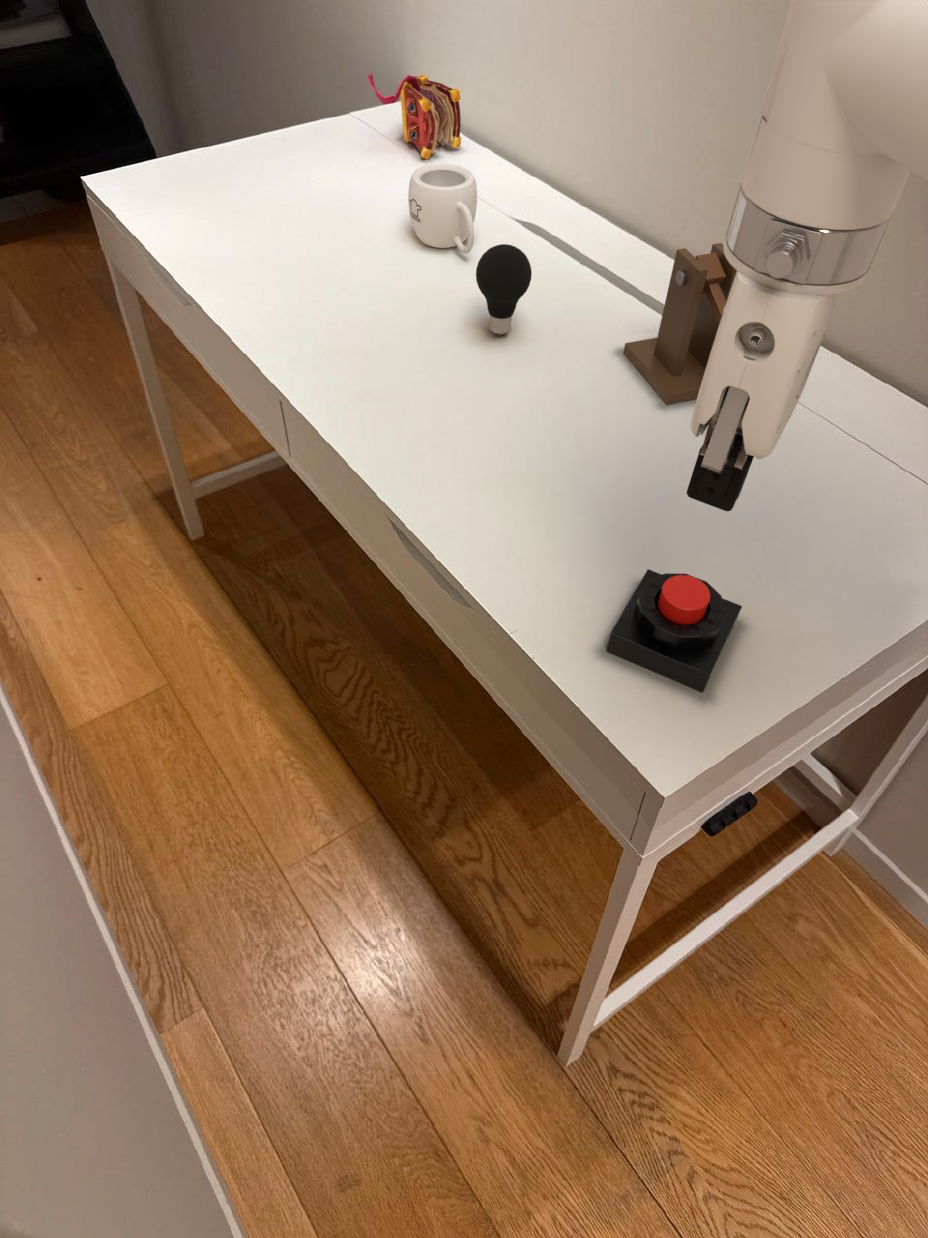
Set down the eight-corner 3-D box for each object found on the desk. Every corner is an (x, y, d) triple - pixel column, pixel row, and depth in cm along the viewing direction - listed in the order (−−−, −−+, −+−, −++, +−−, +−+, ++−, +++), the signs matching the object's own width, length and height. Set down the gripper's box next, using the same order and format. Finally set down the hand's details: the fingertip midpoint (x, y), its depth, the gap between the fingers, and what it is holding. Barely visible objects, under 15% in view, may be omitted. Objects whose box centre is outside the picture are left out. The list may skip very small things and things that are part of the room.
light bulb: (464, 326, 99) (467, 239, 92) (510, 315, 101) (517, 229, 93) (487, 353, 96) (492, 265, 88) (534, 342, 98) (544, 255, 90)
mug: (397, 230, 114) (396, 167, 108) (455, 218, 116) (457, 155, 110) (440, 273, 107) (441, 207, 101) (501, 258, 110) (505, 194, 104)
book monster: (465, 151, 130) (391, 169, 127) (438, 130, 135) (366, 147, 132) (463, 70, 122) (384, 87, 118) (434, 51, 127) (358, 67, 124)
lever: (770, 388, 85) (782, 374, 83) (725, 397, 84) (736, 384, 82) (717, 266, 89) (728, 250, 86) (673, 273, 87) (683, 257, 85)
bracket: (742, 389, 93) (778, 274, 83) (666, 404, 91) (695, 288, 81) (695, 339, 99) (724, 226, 89) (623, 352, 97) (645, 238, 87)
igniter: (734, 623, 72) (748, 590, 69) (703, 693, 67) (716, 660, 64) (642, 586, 74) (652, 553, 71) (605, 651, 69) (613, 618, 66)
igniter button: (711, 601, 68) (716, 585, 67) (695, 632, 66) (701, 616, 65) (667, 583, 69) (672, 568, 68) (650, 613, 67) (655, 598, 66)
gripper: (842, 320, 40) (730, 589, 54) (905, 195, 49) (795, 455, 63) (686, 273, 42) (618, 544, 56) (773, 162, 51) (695, 421, 65)
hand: (711, 497), depth 60 cm, fingers closed
